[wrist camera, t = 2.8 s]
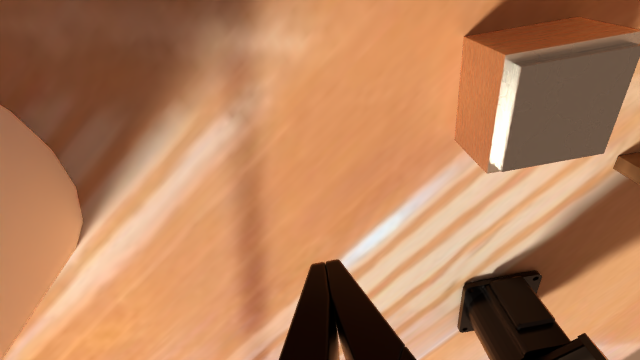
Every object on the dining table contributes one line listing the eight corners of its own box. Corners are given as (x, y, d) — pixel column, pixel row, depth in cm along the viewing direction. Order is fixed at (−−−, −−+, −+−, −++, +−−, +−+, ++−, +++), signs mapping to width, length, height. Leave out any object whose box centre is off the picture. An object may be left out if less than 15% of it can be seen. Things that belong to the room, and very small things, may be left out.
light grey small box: (548, 121, 21) (608, 158, 17) (453, 138, 21) (493, 180, 17) (575, 16, 18) (657, 33, 14) (462, 36, 18) (513, 58, 14)
